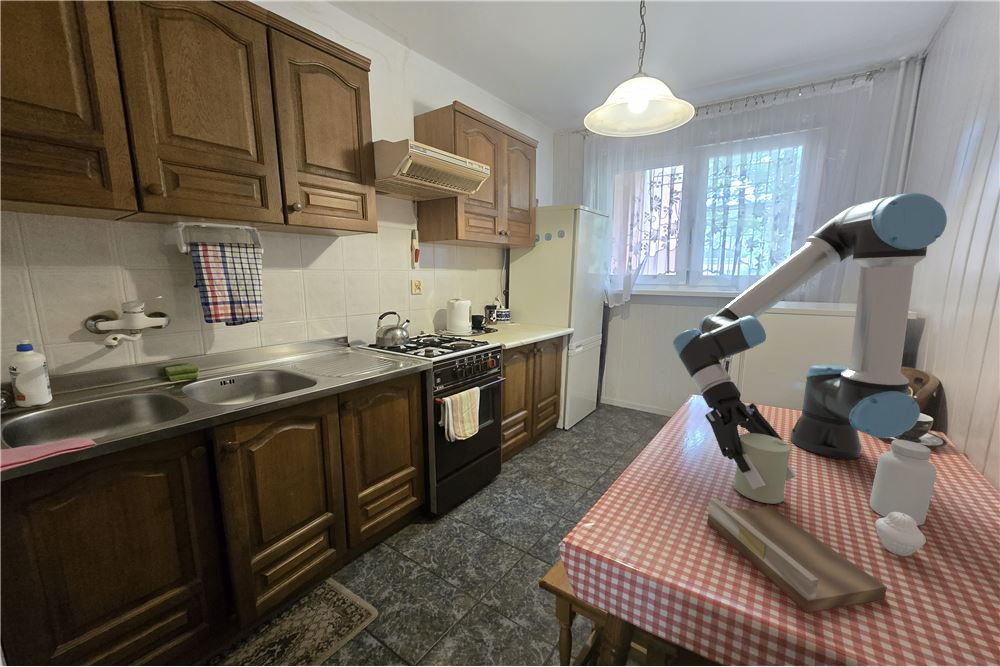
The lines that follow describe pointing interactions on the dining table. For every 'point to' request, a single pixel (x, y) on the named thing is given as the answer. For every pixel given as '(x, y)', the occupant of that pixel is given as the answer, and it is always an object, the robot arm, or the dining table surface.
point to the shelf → (794, 558)
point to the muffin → (900, 534)
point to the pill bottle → (904, 481)
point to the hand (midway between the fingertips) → (775, 482)
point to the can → (764, 467)
